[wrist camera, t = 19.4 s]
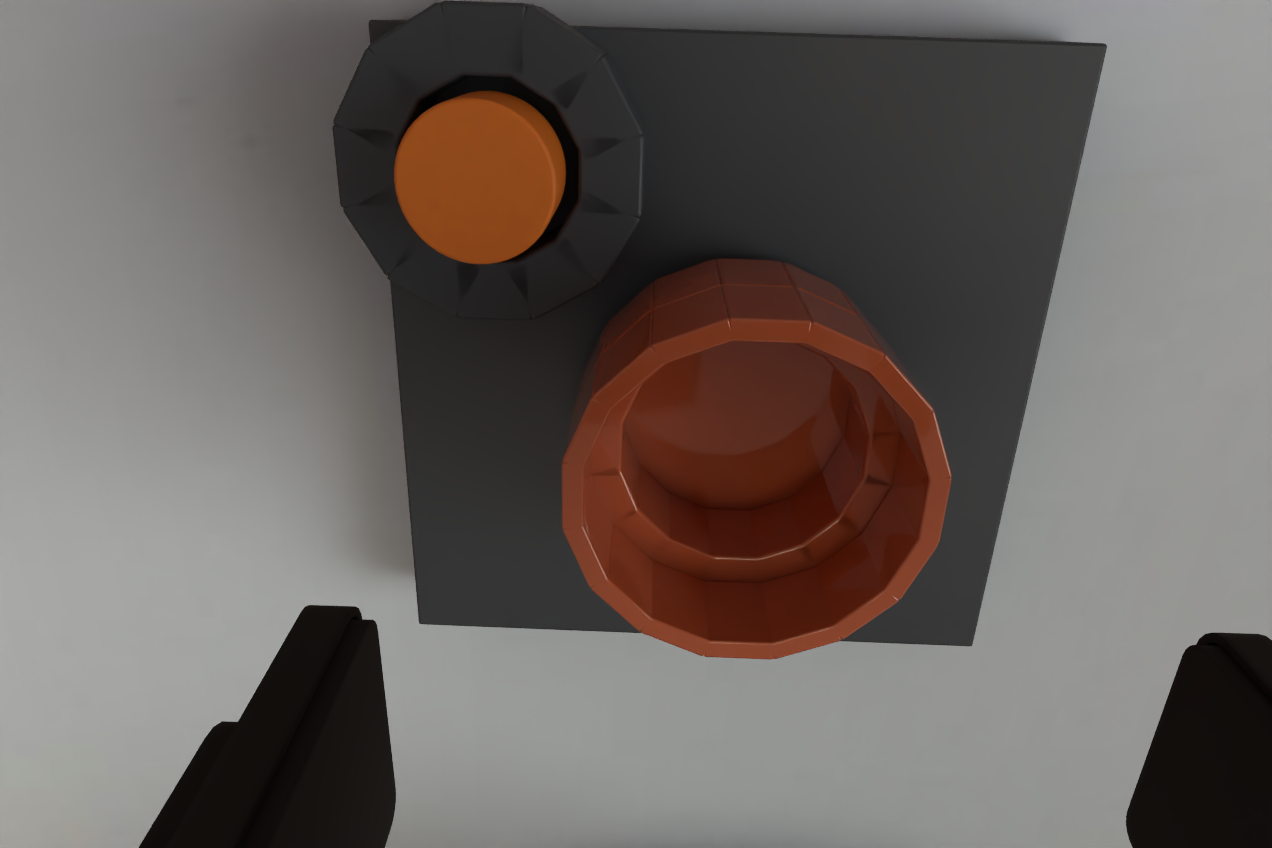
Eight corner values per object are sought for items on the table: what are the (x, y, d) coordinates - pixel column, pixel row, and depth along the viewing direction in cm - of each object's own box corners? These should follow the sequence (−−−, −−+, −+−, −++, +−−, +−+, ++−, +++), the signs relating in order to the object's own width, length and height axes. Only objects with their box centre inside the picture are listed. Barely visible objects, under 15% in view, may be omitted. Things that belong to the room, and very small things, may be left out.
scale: (376, 0, 19) (317, -4, 15) (1071, 23, 18) (1157, 23, 15) (423, 581, 25) (387, 665, 21) (950, 602, 24) (994, 690, 21)
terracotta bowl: (583, 246, 19) (560, 311, 15) (910, 258, 19) (982, 326, 14) (581, 529, 22) (562, 652, 17) (866, 540, 21) (916, 665, 17)
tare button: (413, 87, 16) (386, 95, 15) (566, 92, 16) (556, 100, 15) (423, 240, 18) (398, 262, 16) (566, 245, 17) (557, 268, 16)
